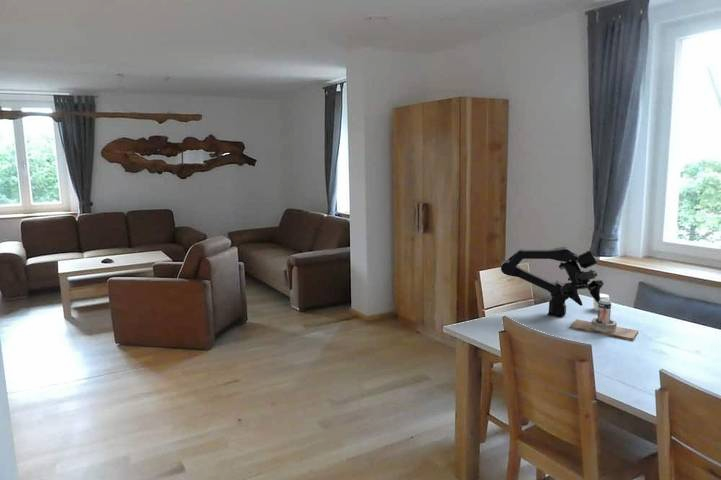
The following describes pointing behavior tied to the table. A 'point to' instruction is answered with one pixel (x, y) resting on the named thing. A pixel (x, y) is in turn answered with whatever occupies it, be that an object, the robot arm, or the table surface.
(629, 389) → the table surface
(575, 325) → the socket board
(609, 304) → the beer can
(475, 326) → the table surface
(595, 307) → the white cup
